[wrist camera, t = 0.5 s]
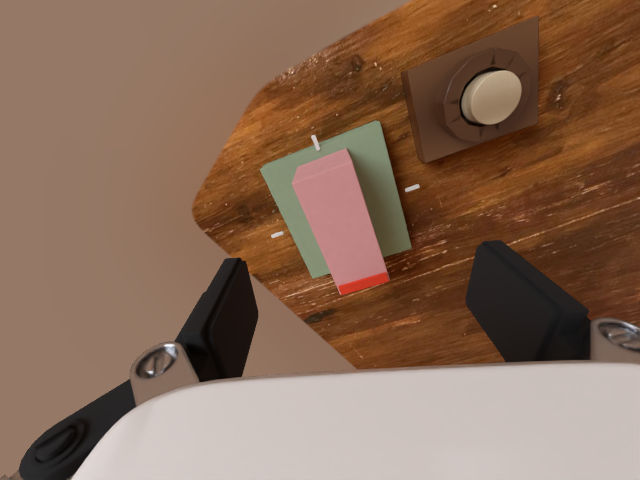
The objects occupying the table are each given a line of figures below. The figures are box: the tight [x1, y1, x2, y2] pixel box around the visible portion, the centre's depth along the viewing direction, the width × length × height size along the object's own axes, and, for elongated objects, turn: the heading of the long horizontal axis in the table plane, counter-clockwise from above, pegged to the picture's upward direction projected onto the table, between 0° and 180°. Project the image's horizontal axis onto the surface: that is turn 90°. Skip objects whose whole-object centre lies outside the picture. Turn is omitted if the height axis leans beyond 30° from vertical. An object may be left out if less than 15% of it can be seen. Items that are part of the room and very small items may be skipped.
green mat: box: [260, 121, 420, 279], centre depth 29 cm, size 16×16×2 cm
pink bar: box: [292, 148, 390, 295], centre depth 26 cm, size 12×5×6 cm, turn 21°
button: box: [462, 71, 522, 125], centre depth 21 cm, size 4×4×2 cm
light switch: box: [401, 16, 539, 163], centre depth 23 cm, size 8×10×4 cm
